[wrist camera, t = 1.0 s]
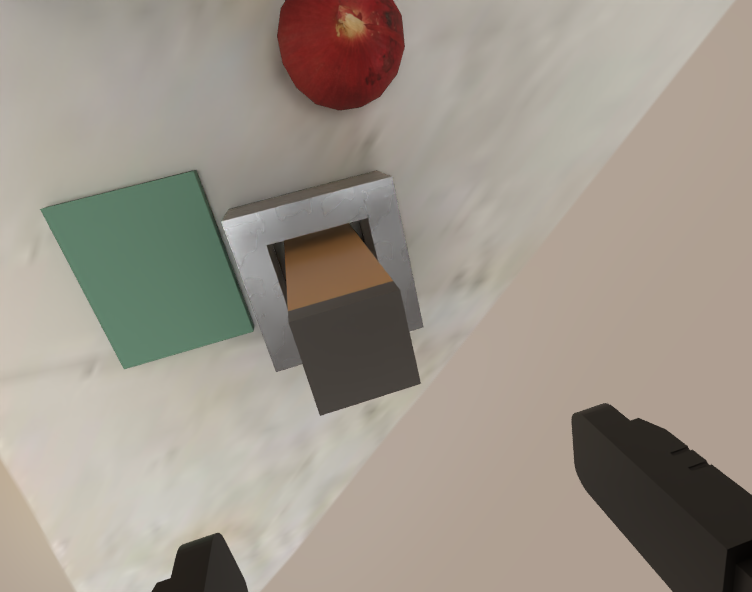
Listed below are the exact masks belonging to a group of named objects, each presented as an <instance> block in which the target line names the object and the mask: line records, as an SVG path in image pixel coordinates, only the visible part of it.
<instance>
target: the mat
mask: <svg viewBox="0 0 752 592" xmlns="http://www.w3.org/2000/svg"><path fill="white" fill-rule="evenodd" d="M40 210H41V212H42V213H43V215H44V217H45V219H46V221H47V223H48V225H49V227H50V229H51V231H52V233H53V234H54V236H55V238H56V240H57V242H58V244H59V246H60V248H61V250H62V252H63V254H64V256H65V257H66V259H67V261H68V263H69V265H70V267H71V269H72V271H73V273H74V275H75V277H76V278H77V280H78V282H79V284H80V286H81V288H82V290H83V292H84V294H85V296H86V298H87V299H88V301H89V303H90V305H91V307H92V309H93V311H94V313H95V315H96V317H97V319H98V321H99V322H100V324H101V326H102V328H103V330H104V332H105V334H106V336H107V338H108V340H109V342H110V343H111V345H112V347H113V349H114V351H115V353H116V355H117V357H118V359H119V361H120V363H121V365H122V366H123V368H124V369H127V368H130V367H134V366H137V365H141V364H144V363H147V362H151V361H154V360H158V359H161V358H164V357H168V356H171V355H175V354H178V353H182V352H185V351H188V350H192V349H195V348H199V347H202V346H205V345H209V344H212V343H216V342H219V341H223V340H226V339H229V338H233V337H236V336H240V335H243V334H247V333H250V332H253V331H254V325H253V322H252V319H251V317H250V314H249V311H248V308H247V306H246V303H245V300H244V298H243V295H242V292H241V290H240V287H239V284H238V282H237V279H236V276H235V274H234V271H233V268H232V266H231V263H230V260H229V258H228V255H227V252H226V249H225V247H224V244H223V241H222V239H221V236H220V233H219V231H218V228H217V225H216V223H215V220H214V217H213V215H212V212H211V209H210V207H209V204H208V201H207V198H206V196H205V193H204V190H203V188H202V185H201V182H200V180H199V177H198V174H197V172H196V170H194V171H190V172H186V173H182V174H178V175H174V176H170V177H166V178H162V179H158V180H154V181H150V182H146V183H142V184H138V185H134V186H130V187H126V188H122V189H118V190H114V191H110V192H106V193H102V194H98V195H94V196H90V197H86V198H82V199H78V200H74V201H70V202H66V203H62V204H58V205H54V206H50V207H46V208H43V209H40Z"/></svg>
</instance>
